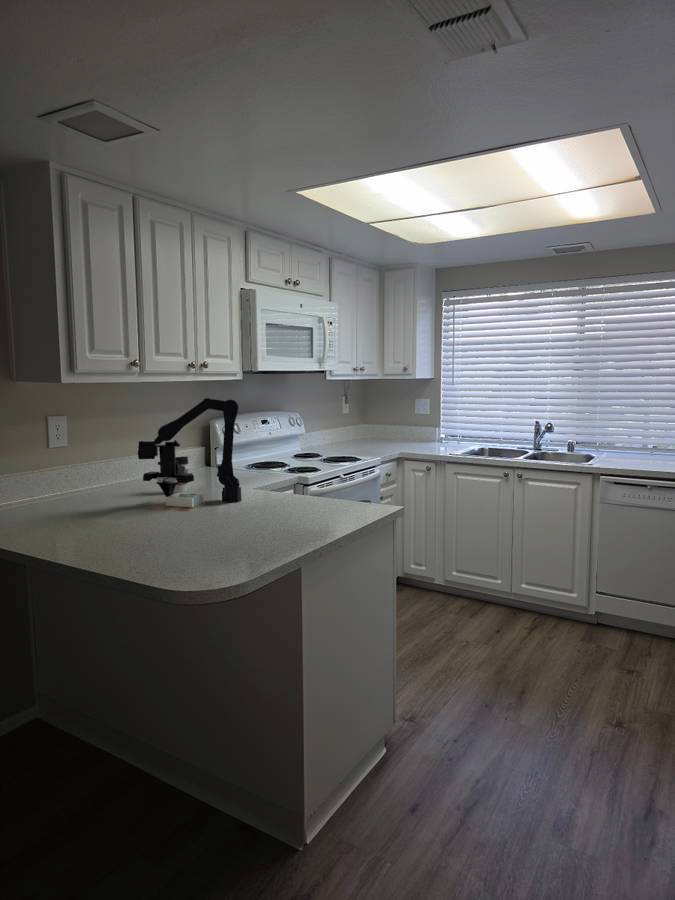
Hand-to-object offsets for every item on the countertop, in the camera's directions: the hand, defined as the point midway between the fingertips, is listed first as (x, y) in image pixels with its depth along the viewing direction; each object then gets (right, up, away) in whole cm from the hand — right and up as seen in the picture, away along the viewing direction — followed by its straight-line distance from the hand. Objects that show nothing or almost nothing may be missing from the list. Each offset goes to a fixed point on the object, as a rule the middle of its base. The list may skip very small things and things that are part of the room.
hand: (169, 499), depth 232 cm
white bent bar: (+6, -1, -2) cm, 7 cm away
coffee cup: (-3, +1, +28) cm, 28 cm away
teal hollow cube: (+9, -2, -3) cm, 10 cm away
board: (+3, -3, -3) cm, 6 cm away
